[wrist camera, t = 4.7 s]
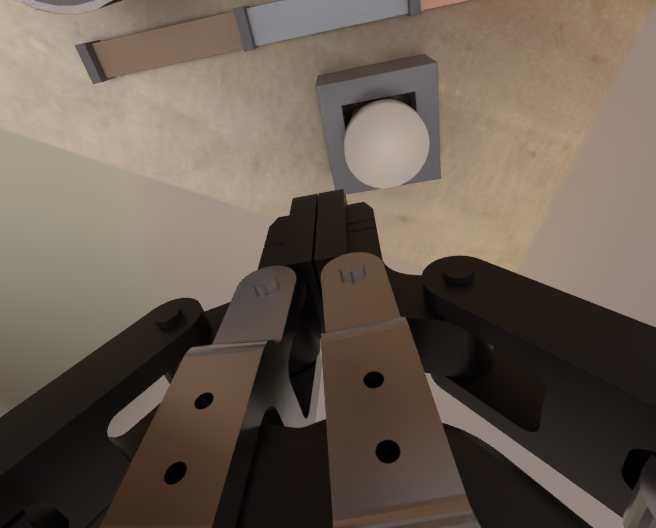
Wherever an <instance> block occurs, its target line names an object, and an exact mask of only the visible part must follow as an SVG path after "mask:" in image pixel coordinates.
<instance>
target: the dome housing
mask: <svg viewBox="0 0 656 528" xmlns="http://www.w3.org/2000/svg"><path fill="white" fill-rule="evenodd" d="M316 91H317V96H318V101H319V107H320V112H321V117H322V123H323V128H324V133H325V138H326V144H327V149H328V154H329V160H330V165H331V170H332V175H333V181H334V186H335V190H340V189H344V191H345V194H351V193H357V192H363V191H369V190H375V189H381V188H375V187H372V186H369V185H366V184H364V183H363V182H361V181H360V180H358V179H357V178H356V177H355V176H354V175H353V173H352V172H351V171H350V169H349V167H348V165H347V162H346V159H345V152H344V137H345V132H346V123H345V117H344V111H343V105H347V104H352V103H357V102H362V101H368V100H373V99H378V98H383V97H388V96H394V95H399V94H404V93H406V95H407V105H409V106H410V107H411V108H413V109H414V110H415V111H416V112H417V114H418V115H419V116H420V118H421V119H422V121H423V122H424V124H425V126H426V128H427V131H428V135H429V152H428V155H427V158H426V161H425V163H424V165H423V166H422V168H421V169H420V171H419V172H418V173H417V174H416V175H415V176H414V177H413V178H412V179H410V180H409V181H407V182H406V183H404V184H402V185H405V184H411V183H417V182H423V181H429V180H435V179H441V168H440V137H439V105H438V74H437V62H436V61H434V60H432V59H431V58H429V57H428V56H426V55H424V54H423V55H418V56H413V57H408V58H403V59H398V60H393V61H388V62H383V63H378V64H373V65H368V66H364V67H359V68H354V69H349V70H344V71H339V72H334V73H329V74H324V75H319V76H318V79H317V83H316Z"/></svg>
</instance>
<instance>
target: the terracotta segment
mask: <svg viewBox="0 0 656 528" xmlns="http://www.w3.org/2000/svg"><path fill="white" fill-rule="evenodd" d="M463 1H468V0H408V14H406V15H409V16H412V15H417V14H421V11H422V10H426V9H431V8H436V7H440V6H445V5H450V4H454V3H459V2H463Z"/></svg>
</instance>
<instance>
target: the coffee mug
mask: <svg viewBox="0 0 656 528" xmlns="http://www.w3.org/2000/svg"><path fill="white" fill-rule="evenodd" d="M16 1H18V2H21V3H23V4H25V5H28V6H30V7H33V8H35V9H38V10H42V11H47V12H52V13H57V14H80V13H84V12H88V11H92V10H96V9H99V8H102V7H105V6H108V5H110V4H113V3H116V2H119V1H122V0H16Z"/></svg>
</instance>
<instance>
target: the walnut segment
mask: <svg viewBox="0 0 656 528" xmlns="http://www.w3.org/2000/svg"><path fill="white" fill-rule="evenodd" d="M75 47H76V49H77V51H78V53H79V55H80V57H81V59H82V62H83V64H84V66H85V68H86V70H87V72H88V74H89V76H90V78H91V81H92V83H93V84H96V83H100V82H104V81H107V80H109V79H112V78H115V77H116V76H120V75H125V74H130V73H134V72H139V71H144V70H148V69H153V68H158V67H162V66H167V65H171V64H176V63H181V62H185V61H190V60H195V59H199V58H204V57H209V56H213V55H218V54H222V53H227V52H232V51H236V50H241V49H244V48H243V45H242V41H241V37H240V33H239V30H238V26H237V22H236V18H235V15H234V11H233V12H229V13H225V14H220V15H216V16H211V17H207V18H203V19H198V20H194V21H189V22H185V23H181V24H176V25H172V26H167V27H163V28H159V29H154V30H150V31H145V32H141V33H137V34H132V35H128V36H124V37H119V38H115V39H110V40H106V41H102V42H101V41H100V40H99V41H93V42H88V43H83V44H78V45H75Z"/></svg>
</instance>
